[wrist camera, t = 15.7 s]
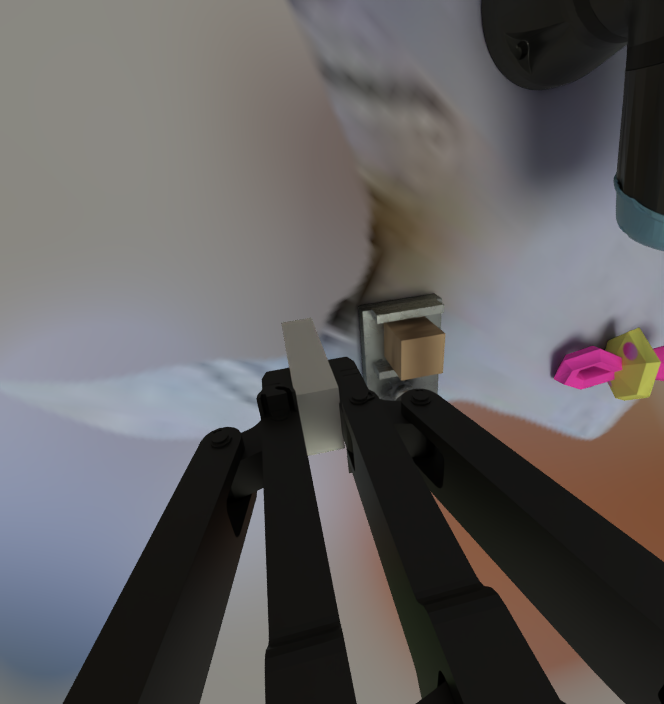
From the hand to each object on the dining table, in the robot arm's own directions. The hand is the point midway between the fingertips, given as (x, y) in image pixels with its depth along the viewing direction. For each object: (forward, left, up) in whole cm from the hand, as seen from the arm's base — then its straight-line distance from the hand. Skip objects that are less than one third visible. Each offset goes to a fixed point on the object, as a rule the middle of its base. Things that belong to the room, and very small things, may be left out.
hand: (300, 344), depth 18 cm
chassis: (-14, +16, -24) cm, 32 cm away
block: (-14, +12, -22) cm, 29 cm away
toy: (-47, +22, -25) cm, 57 cm away
